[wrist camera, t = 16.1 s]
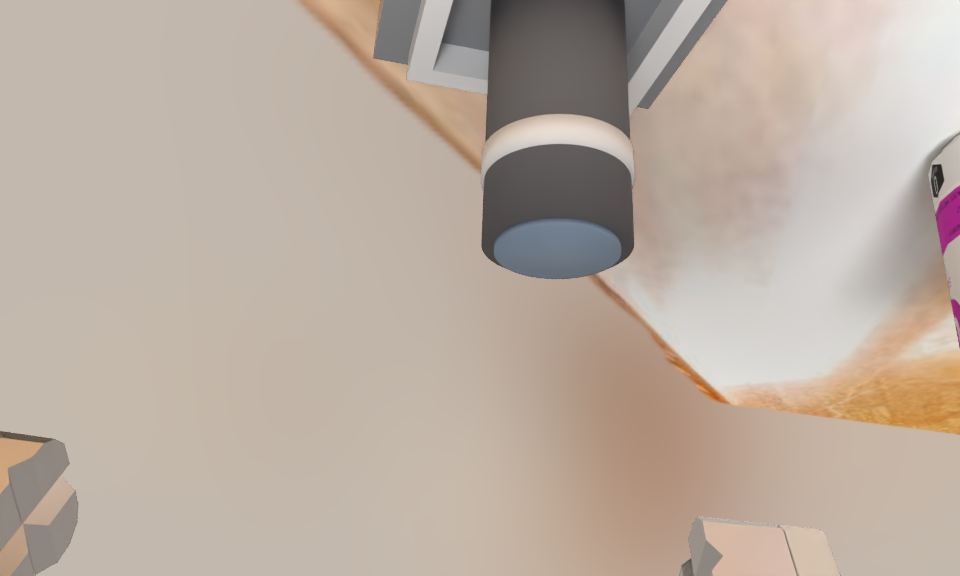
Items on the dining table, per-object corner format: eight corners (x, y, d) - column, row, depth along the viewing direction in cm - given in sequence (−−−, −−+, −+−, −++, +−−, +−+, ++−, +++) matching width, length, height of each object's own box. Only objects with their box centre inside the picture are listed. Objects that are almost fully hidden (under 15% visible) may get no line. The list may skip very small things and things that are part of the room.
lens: (648, -40, 28) (663, 230, 24) (599, 51, 33) (605, 291, 29) (506, -68, 27) (498, 208, 24) (475, 30, 32) (464, 274, 28)
